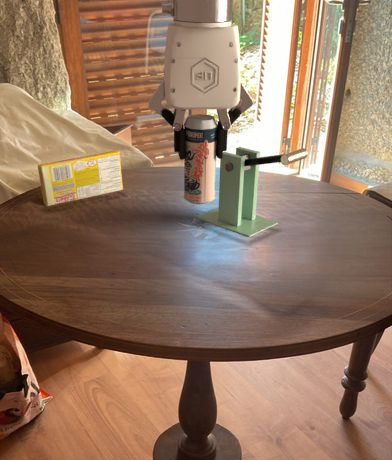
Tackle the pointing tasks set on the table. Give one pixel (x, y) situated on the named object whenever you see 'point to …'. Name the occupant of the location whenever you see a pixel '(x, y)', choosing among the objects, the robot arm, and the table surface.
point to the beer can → (200, 158)
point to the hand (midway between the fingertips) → (200, 155)
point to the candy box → (80, 177)
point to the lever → (275, 158)
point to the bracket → (238, 196)
